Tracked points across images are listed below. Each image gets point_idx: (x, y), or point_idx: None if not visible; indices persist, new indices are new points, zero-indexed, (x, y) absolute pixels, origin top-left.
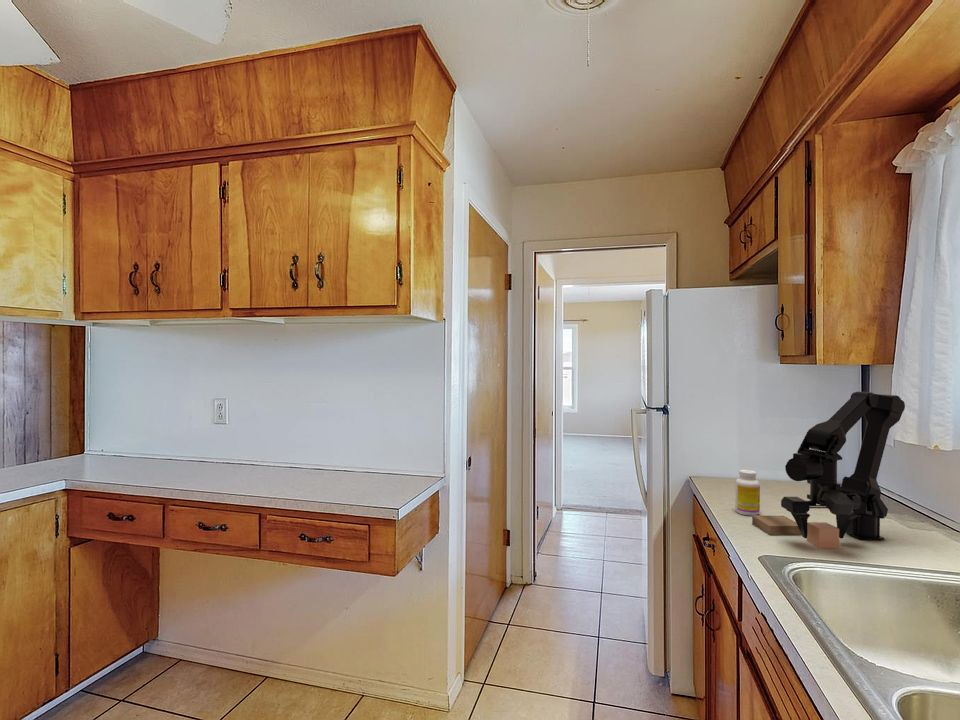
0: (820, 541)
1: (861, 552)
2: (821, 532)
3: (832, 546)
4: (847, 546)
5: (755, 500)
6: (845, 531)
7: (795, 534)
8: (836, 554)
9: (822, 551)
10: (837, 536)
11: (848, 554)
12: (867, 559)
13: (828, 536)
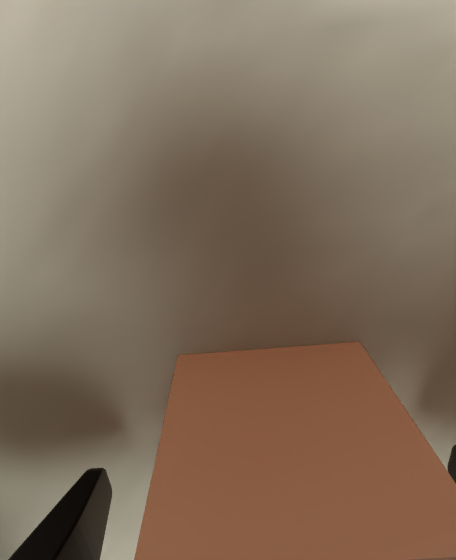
0: (373, 384)
1: (14, 270)
2: (418, 485)
3: (237, 359)
4: (83, 393)
5: None
6: (25, 549)
7: None
8: (306, 188)
9: (394, 260)
10: (177, 448)
11: (175, 201)
12: (27, 48)
13: (295, 439)
